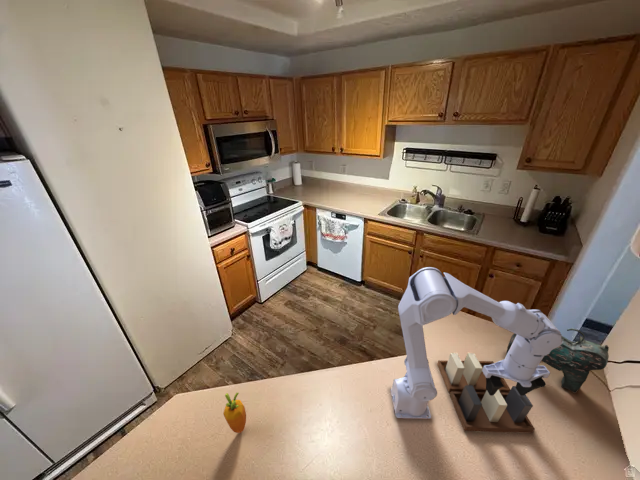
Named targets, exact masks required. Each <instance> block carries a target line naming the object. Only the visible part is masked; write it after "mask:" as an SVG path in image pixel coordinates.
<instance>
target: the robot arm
mask: <svg viewBox="0 0 640 480" xmlns="http://www.w3.org/2000/svg"><path fill="white" fill-rule="evenodd" d="M463 308H466V309H468V310H471V311H474V312H476V313H479V314H482V315H484V316H487V317H490V318H491V320H492V322H493V324H495V325H496V326H498V327H499V328H501V329H503V330H506V331H507V332H510V333H513V334H517V335H516V337H515V339H514V341H513V343H512V345H511V347H510V349H509V351H508V353H507V355H506V354H505V356H506V357H505V356H504V358H503V359H501V360H499V361H498V360H497V361H496V362H494V363H493V364H485V365H484V366H483V369H482V372H483V373H484V375H485V377H486V389H487V391H488V393H489V395H490V396H493V395H494V394H495V393H496V392H497V390H498V389H500V388H502V387H504V385H503V384H502V382H501V378H504V380H509V381H513V382H516V383H515V386H516V389H517V391H518V392H519V394H520V395H521V396H523V395H525V394H526V395H527V394H529V393H530V392H532V391H535V390H536V389H541V388H545V387H546V385H547V383H546V382H545V380H544V379H548V377H549V376H550V375H551V372H550V370H549V369H548V368H547V367H546V366H545V365H541V362H542V361H541V360H542V359H543V357H544V355H547V354H549V353H550V352H551V350H553V349H555V348H557V347H559V346H560V345H561V344H562V343H563V341H562V339H561V337H562V336H563V335H562V333H561V331H560V330H559V329H558V328H557V327H556V325H555V324H554V323H553V322H552V321H551V320H550V319H549V318H548V317H547V315H546V314H544V313H543V312H542V311H541V309H533V308H532V309H527V308H526V306H524V304H522V303H520V302H517V303H514V302H511V301H509V300H500V301H497V300H495V299H493V298H492V297H490V296H488V295H486V294H484V293H482V292H480V291H478V290H477V289H475V288H473V287H471V286H469V285H467V284H465V283H464V282H462V281H461V280H459V279H457V277H454V276H453V275H452V274H450V273H448V272H443V273H442V272H441V270H440V269H438V268H436V267H432V266H426V267H422V268H420V269H418V270H416V272H415V273H413V274H412V275H411V276H409V278H408V283H407V287H406V289H405V291H404V293H403V294H402V297H401V299H400V301H399V303H398V305H397V311H398V315H399V321H400V326H401V332H402V336H403V342H404V347H405V353H406V354H405V355H406V357H405V358H404V363H403V364H404V366H405V371H406V372H405V374H404V376H402V377H399V378H394V379H393V380H392V385H391V388H390V395H391V401H392V405H393V409H394V414H395V415H394V416H395V418H397V419H414V420H415V419H418V420H419V419H420V420H431V419H432V414H431V410H430V407H429V402H430V401H432V400H434V399H435V398H436V397H437V396H438V390H437V388H436V385H435V381H434V378H433V375H432V372H431V367H430V364H429V363H430V362H429V359H428V355H427V349H426V340H425V333H424V332H425V331H424V326H425V325H428V324H430V323H433V322H436V321H438V320H441V319H444V318H447V317H449V316H450V315H453V316H456V315H458V314H459V313H460V312H461V310H463ZM500 377H501V378H500Z"/></svg>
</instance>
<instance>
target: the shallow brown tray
mask: <svg viewBox="0 0 640 480" xmlns="http://www.w3.org/2000/svg"><path fill="white" fill-rule="evenodd" d="M464 361H465V360H461V362H462V364H464ZM478 361H479V363H480V364H481V366H482V368H483V366H484V365H485V364H493V363H495V361H493V360H478ZM447 362H448V360H440V359H439V360H438V361H437V364H436V365H437V368H438V370H439V372H440V375H441V378H442V380H443V382H444V385H445V387H446V390H447V392H448V393H451V392H463V389H464V387H465V385H468V383H467V381H466V379H465V377H464V375H463V374H462V376H461V379H460V381H459V384H458V385H451V382H450V380H449V378H448V375H447V373H446V371H445V368H446V365H447ZM500 378H501V377H500ZM501 382H502V384H503V385H504V387H502V388H500V389H498V390H499V391H500V393H509V392H510V390H511V388H510V386H509V384H508V383H507V382H506V379H505V378H501ZM473 387H474V389H475V391H476V392H486V390H487V389H486V377H485V375H484V373H483V372H482V371H481V373H480V376H479V378H478V380H477V382H476V384H475V385H473Z"/></svg>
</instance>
